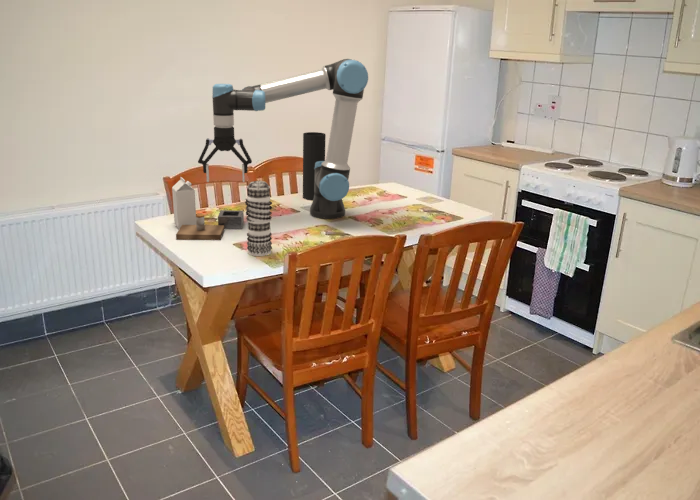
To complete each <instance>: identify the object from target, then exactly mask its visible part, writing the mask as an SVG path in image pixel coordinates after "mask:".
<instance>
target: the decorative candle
mask: <svg viewBox="0 0 700 500" xmlns="http://www.w3.org/2000/svg"><path fill="white" fill-rule="evenodd" d="M270 188H272V187H271V185H269V184H268V183H267V182H266V181H263V180H255V181H254V180H253V181H251V182H249V184H248V185H246V189H247V196H246V198H245V202H244V203H245V206H246V207H245V211H246V212H245V215H246V216H247V217H246V219H245V220H246V222H247V224H248V225H247V226H248V227H247V233H246V236H247V238H246V239H247V242H246V245H247V246H246V248H247V254H248V255H249V256H254V257H266V256H268V254H269V255H271V254H272V253H273V251H272V249H273V246H272V244H273V243H272V240H273V238H272V236H273V234H272V232H271V231H272V230H271V221H272V218H273V216H271V215H272V214H273V212H271V210H272V209H273V206H272V204H273V202H272V201H271V194H270V193H271V192H270ZM271 252H272V253H271ZM265 255H266V256H265Z"/></svg>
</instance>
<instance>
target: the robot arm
mask: <svg viewBox="0 0 700 500" xmlns="http://www.w3.org/2000/svg"><path fill="white" fill-rule="evenodd" d="M368 82H369V73H368V70H367V68H366V66H365V65H364V64H363V63H362V61H361V62H360V61H359V60H355V59H350V58H344V59H341V60H338V61H335V62H333V63H331V64H326V65H323V66H322V67H321V69H317V70H313V71H310V72H306V73H301V74H297V75H292V76H288V77H285V78H280V79H276V80H273V81H268V82H265V83H261V84H257V85H253V86H252V85H251V86H249V85H248V86H245V87H244V88H242V89H234V87H233V84H230V83H215V84H213V85H212V96H211V97H212V111H213V112H212V113H213V114H212V115H213V116H212V117H213V138H212V139H210V138H206V140H205V145H204V148H203V149H202V152H201V154H200V156H199V158H198V160H197V163H198V164H200V165H202V171H203V172H202V173H203V174H206V183H209V182H210V171H209V170H210V169H209V168H210V166H209V163H208V162H210V160H211V159H212V158H213V157H214V155H215V154H216V153H217V152H218V151H220V152H230V151H231V152H232V153H233V154H234V155H235V156H236V157H237V159H239V160H240V162H241V163H242V164H241V169H242V170H241V171H242V174H241V176H242V183H245V178H246V177H245V174H247V173H248V165H251V164H252V162H253V161H252V158H251V156H250V155H249V152H248V151H247V149H246V146H245V145H244V140H243V139H242V138H239V139H235V127H234V125H235V119H234V116H235V115H234V113H235V112H234V111H247V112H248V111H249V112H250V111H252V112H260V111H261V112H262V111H265V110H266V104H268V103H271V102H276V101H280V100H283V99H288V98H292V97H297V96H301V95H304V94H309V93H313V92H317V91H321V90H328V91H332V95H333V96H334V98H335V101H334V107H333V114H332V119H331V127H330V133H329V140H328V145H327V152H326V156H325V161H318V162H316V163H315V168H314V170H315V183H314V199H313V200H312V202H311V205H310V208H309V215H310V216H311V217H314V218H318V219H325V220H327V219H328V220H329V219H330V220H331V219H339V218H343V217H345V215H346V207H345V205H344V200H343V199H344V198H345V197H346V196H347V195H348V193H349V191H350V181H349V178H350V172H351V167H350V165H349V164H348V161H349V155H350V150H351V145H352V144H351V143H352V139H353V138H352V137H353V132H354V126H355V120H356V115H357V110H358V103H359V102H360V101H362V100H363V97H364V93H365V92H364V91H365V88H366V87H367V85H368ZM212 144H214V146H215V147H214V148H213V149H212V151H210V153H209V154H208V155H207V157H206V158H205V159H204V157H205V155H206V153H207V151H208V149H209V146H211V145H212ZM236 144H237V145H238V146H239V148H241V151H242V152H243V155H244V157H245V158H244V157H243V155H242V154H241V153H240V152H239V151H238V150H237V148H236V147H235V145H236ZM203 159H204V160H203Z"/></svg>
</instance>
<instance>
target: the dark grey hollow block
mask: <svg viewBox="0 0 700 500" xmlns="http://www.w3.org/2000/svg"><path fill="white" fill-rule="evenodd" d="M244 219H245V218H244V210H230V209H229V210H228V209H227V210H226V209H225V210H224V209H222V210H220V211H219V213H218V216H217V225H224V230H242V229H243V226H244V222H245V221H244Z"/></svg>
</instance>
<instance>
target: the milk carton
mask: <svg viewBox="0 0 700 500" xmlns="http://www.w3.org/2000/svg"><path fill="white" fill-rule="evenodd" d="M179 178H180V179H179V180H178V181H177V182H176V183H175V184H174V185H173V186H172V188H171V191H172V205H173V208H172V209H173V219H174V220H173V223H174V225H175V227H177V229H178V230H179V229H180V227H181V226H182V225H196V214H197V210H196V208H197V207H196V193H195V192H196V190H195V189H194V188H193V187H192V183H191V182H190V181H189V180H185V179H184V178H183V177H182V176H180V177H179Z"/></svg>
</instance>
